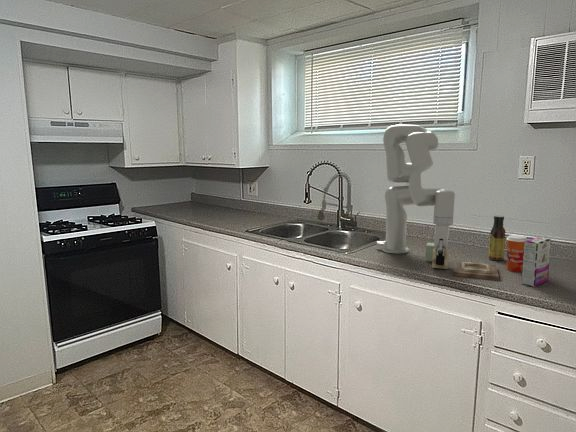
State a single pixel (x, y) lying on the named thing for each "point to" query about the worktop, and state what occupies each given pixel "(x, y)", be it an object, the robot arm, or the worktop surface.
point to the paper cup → (515, 252)
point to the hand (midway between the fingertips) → (440, 262)
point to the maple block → (446, 254)
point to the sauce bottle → (497, 239)
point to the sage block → (429, 251)
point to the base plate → (475, 270)
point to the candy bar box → (536, 261)
